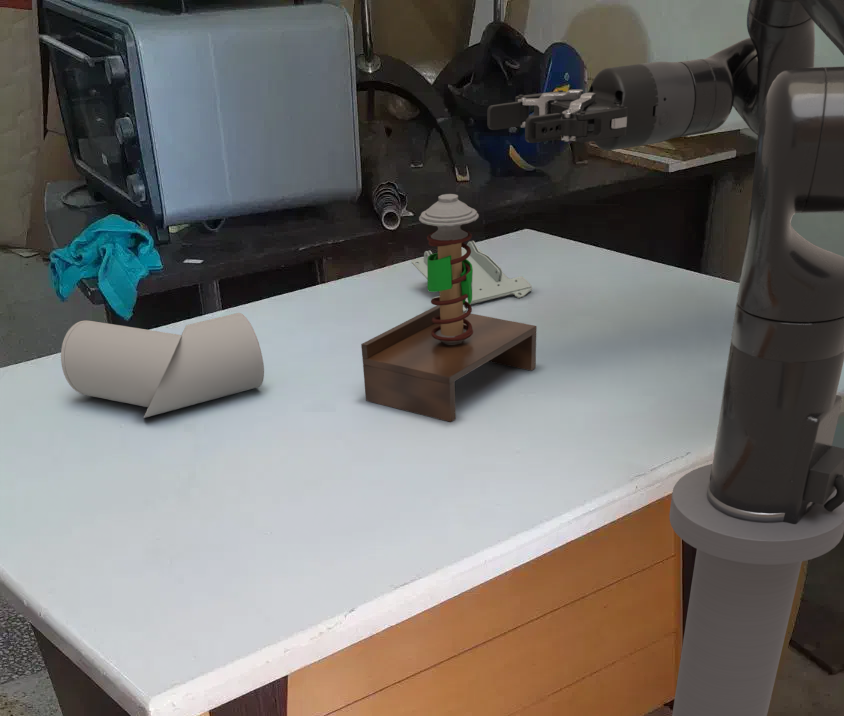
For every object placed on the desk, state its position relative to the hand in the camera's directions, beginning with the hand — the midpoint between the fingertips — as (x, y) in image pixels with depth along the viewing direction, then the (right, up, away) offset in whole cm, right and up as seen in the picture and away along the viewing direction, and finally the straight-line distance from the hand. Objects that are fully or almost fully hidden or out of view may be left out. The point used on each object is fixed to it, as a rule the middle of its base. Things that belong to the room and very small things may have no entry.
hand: (507, 124), depth 105 cm
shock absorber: (-5, -18, +12) cm, 22 cm away
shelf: (-5, -22, +15) cm, 27 cm away
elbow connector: (-40, -23, +17) cm, 48 cm away
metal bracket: (-3, +1, +41) cm, 41 cm away
